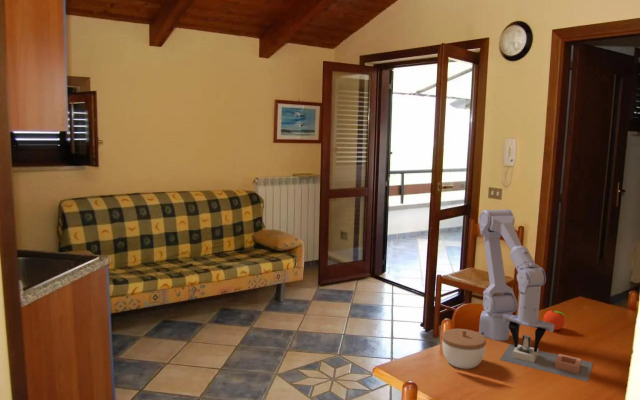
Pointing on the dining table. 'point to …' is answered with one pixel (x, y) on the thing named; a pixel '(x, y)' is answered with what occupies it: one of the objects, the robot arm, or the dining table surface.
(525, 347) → the lock pin
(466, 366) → the lidded bowl
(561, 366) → the socket
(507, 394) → the dining table surface
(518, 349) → the pin mount
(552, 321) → the clementine
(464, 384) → the dining table surface
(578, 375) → the board
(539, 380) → the dining table surface
